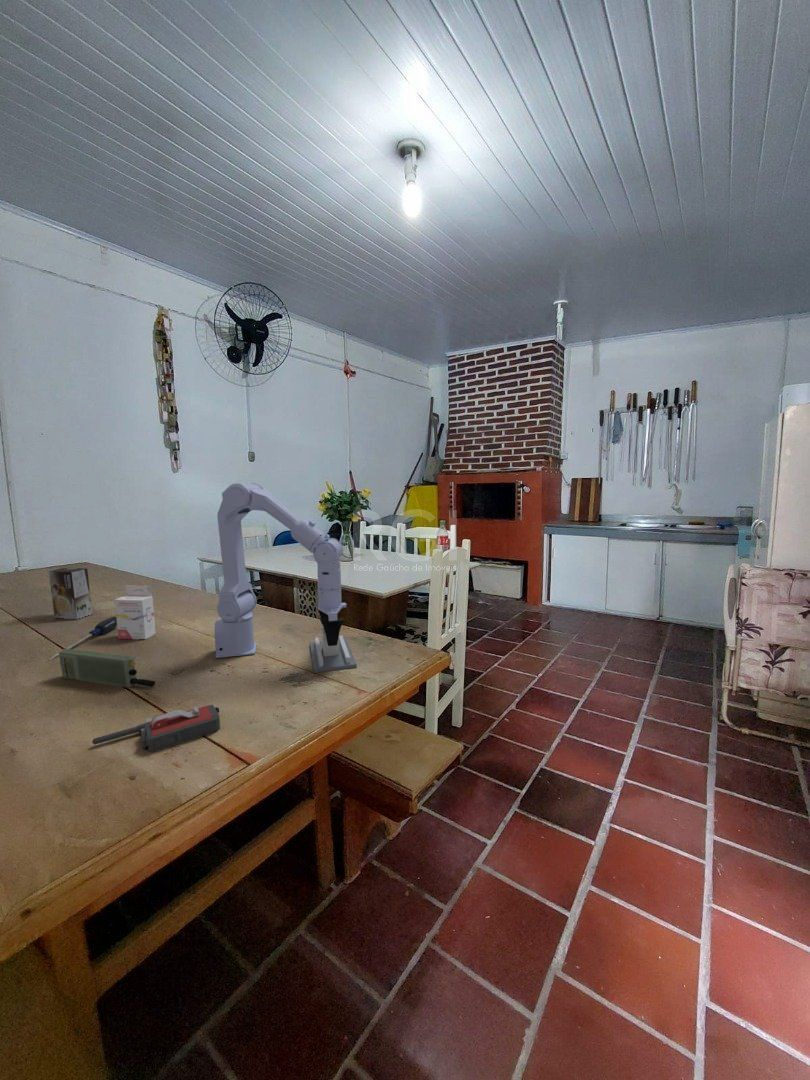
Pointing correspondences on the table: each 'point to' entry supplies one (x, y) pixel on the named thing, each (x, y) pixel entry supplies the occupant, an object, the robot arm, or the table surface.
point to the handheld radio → (100, 668)
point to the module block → (329, 649)
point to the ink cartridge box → (135, 613)
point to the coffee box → (70, 593)
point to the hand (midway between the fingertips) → (331, 640)
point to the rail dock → (332, 657)
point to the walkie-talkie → (172, 728)
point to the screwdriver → (97, 631)
